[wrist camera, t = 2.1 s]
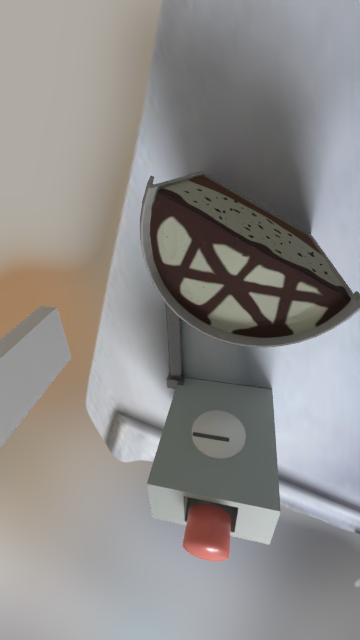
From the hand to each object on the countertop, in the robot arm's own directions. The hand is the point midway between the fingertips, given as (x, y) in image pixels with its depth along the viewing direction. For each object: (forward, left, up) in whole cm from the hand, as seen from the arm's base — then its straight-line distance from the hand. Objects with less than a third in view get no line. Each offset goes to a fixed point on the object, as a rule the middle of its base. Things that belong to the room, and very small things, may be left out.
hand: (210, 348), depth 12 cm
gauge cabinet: (0, +18, -14) cm, 23 cm away
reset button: (0, +18, -2) cm, 19 cm away
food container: (0, 0, -14) cm, 14 cm away
